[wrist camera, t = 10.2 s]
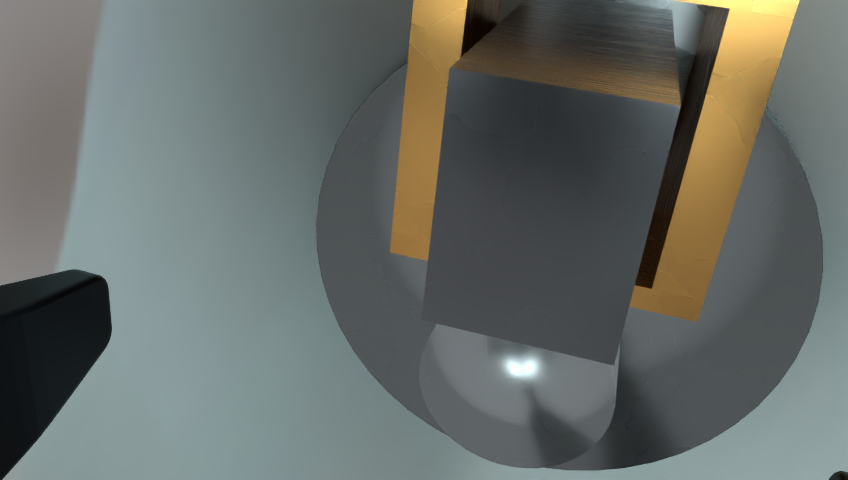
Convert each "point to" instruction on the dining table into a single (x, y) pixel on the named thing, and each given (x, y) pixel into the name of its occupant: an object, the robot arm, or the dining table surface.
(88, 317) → the robot arm
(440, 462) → the dining table surface
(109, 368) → the dining table surface
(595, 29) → the tall grey box
